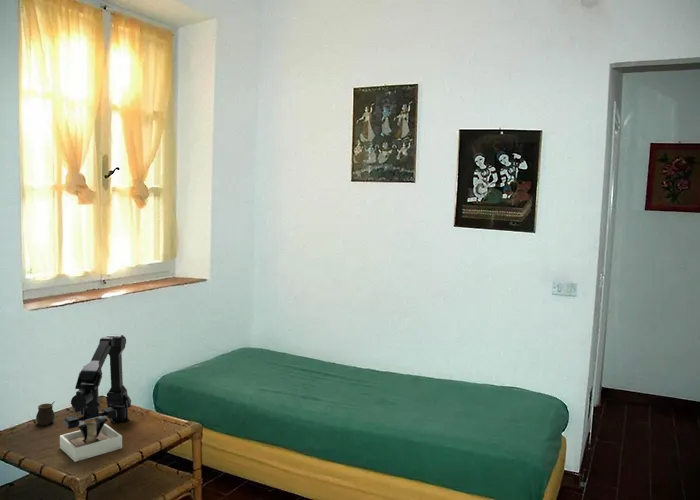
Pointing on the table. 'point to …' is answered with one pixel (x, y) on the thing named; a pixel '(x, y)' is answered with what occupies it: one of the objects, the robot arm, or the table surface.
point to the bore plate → (81, 442)
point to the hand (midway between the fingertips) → (91, 438)
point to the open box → (94, 448)
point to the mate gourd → (45, 414)
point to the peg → (91, 433)
